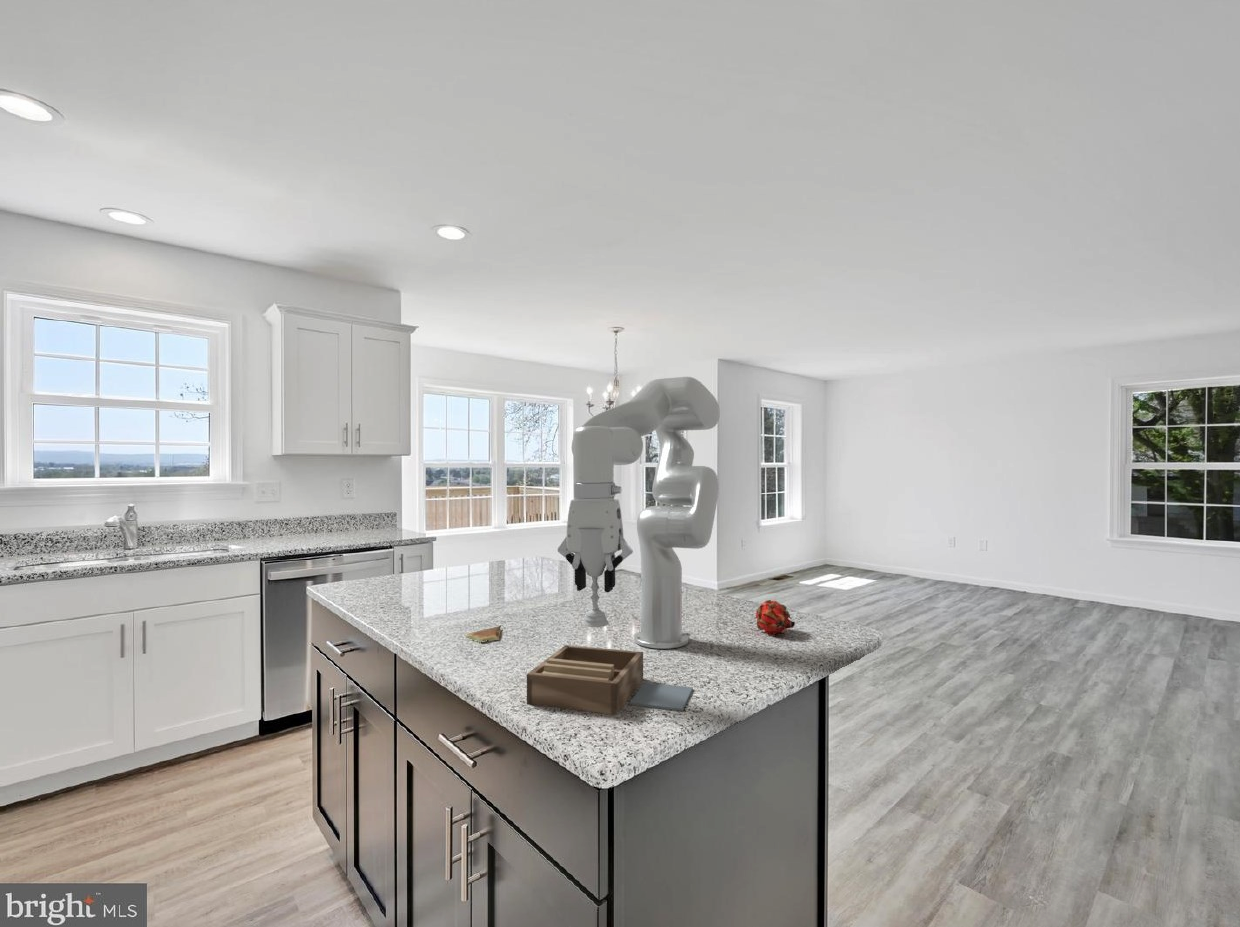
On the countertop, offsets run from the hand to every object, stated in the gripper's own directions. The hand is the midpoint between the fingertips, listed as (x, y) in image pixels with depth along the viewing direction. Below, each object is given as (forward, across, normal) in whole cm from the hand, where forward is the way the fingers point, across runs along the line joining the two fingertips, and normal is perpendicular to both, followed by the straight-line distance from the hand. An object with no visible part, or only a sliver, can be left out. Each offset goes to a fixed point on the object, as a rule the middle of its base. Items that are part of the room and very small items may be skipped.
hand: (595, 589), depth 108 cm
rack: (+17, 0, +4) cm, 18 cm away
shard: (+19, +36, -22) cm, 46 cm away
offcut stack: (+18, 0, +9) cm, 20 cm away
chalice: (+7, 0, 0) cm, 7 cm away
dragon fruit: (+19, -31, -45) cm, 58 cm away
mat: (+18, -13, +3) cm, 22 cm away
